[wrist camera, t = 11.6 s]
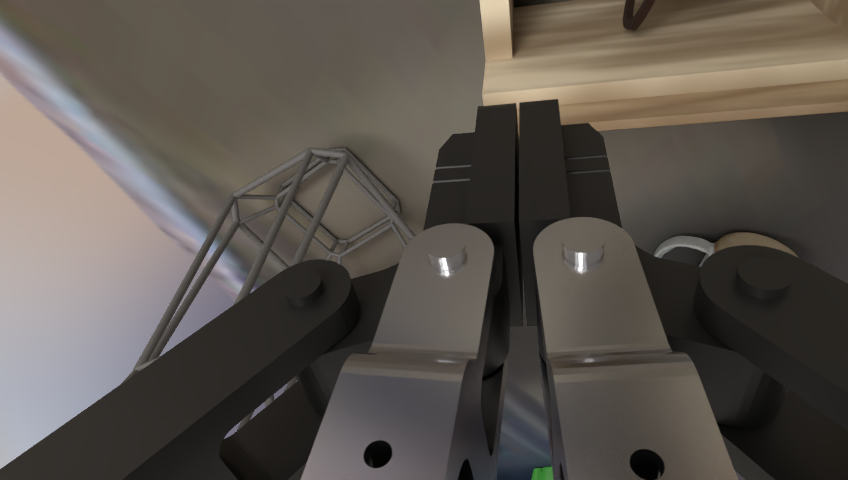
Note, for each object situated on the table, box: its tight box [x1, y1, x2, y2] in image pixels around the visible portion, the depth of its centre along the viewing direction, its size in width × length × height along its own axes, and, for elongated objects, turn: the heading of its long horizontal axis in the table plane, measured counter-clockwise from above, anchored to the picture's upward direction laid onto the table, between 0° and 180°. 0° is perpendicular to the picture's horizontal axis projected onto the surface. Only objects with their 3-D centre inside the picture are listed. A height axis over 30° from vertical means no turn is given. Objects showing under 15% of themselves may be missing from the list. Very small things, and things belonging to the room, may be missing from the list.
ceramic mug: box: [653, 232, 799, 267], centre depth 46 cm, size 11×8×8 cm
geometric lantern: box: [123, 148, 416, 431], centre depth 37 cm, size 16×16×35 cm
